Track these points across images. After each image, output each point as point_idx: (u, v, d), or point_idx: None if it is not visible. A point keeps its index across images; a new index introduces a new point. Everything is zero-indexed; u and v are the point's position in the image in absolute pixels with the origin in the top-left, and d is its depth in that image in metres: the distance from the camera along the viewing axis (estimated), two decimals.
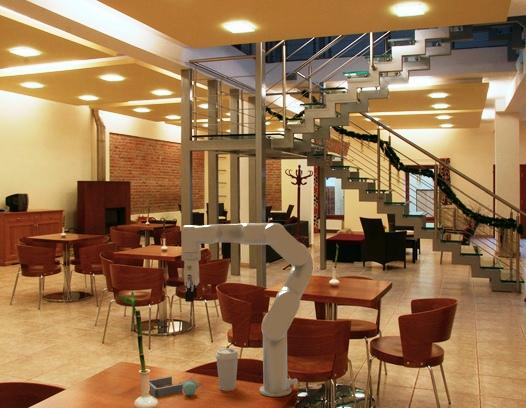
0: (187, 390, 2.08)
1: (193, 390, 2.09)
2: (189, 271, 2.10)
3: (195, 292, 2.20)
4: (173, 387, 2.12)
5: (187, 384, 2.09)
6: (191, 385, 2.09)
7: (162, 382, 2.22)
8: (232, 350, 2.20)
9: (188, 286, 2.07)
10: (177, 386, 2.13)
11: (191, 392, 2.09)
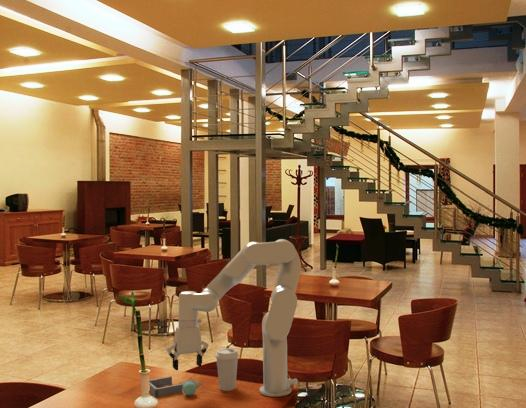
0: (187, 390, 2.08)
1: (193, 390, 2.09)
2: None
3: None
4: (173, 387, 2.12)
5: (187, 384, 2.09)
6: (191, 385, 2.09)
7: (162, 382, 2.22)
8: (232, 350, 2.20)
9: None
10: (177, 386, 2.13)
11: (191, 392, 2.09)
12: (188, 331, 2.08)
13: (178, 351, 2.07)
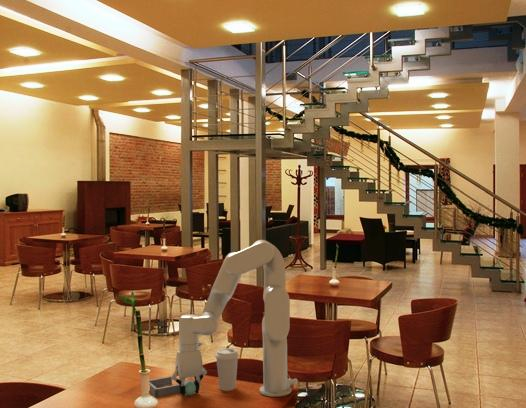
0: (187, 390, 2.08)
1: (193, 390, 2.09)
2: None
3: None
4: (173, 387, 2.12)
5: (187, 384, 2.09)
6: (191, 385, 2.09)
7: (162, 382, 2.22)
8: (232, 350, 2.20)
9: None
10: (177, 386, 2.13)
11: (191, 392, 2.09)
12: (189, 355, 2.08)
13: (180, 375, 2.07)
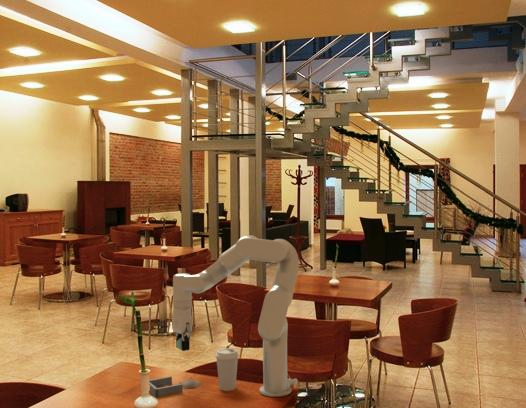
0: None
1: None
2: None
3: None
4: (173, 387, 2.12)
5: None
6: None
7: (162, 382, 2.22)
8: (232, 350, 2.20)
9: None
10: (177, 386, 2.13)
11: None
12: None
13: (191, 329, 2.18)
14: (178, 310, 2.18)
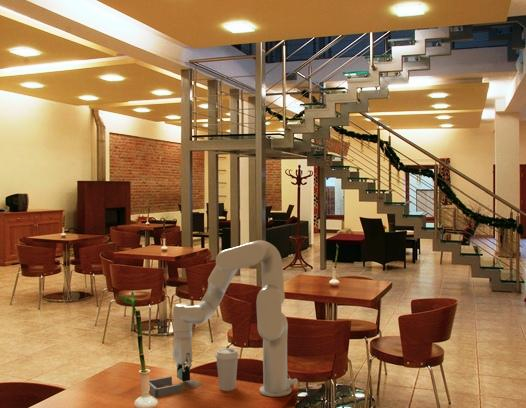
0: None
1: None
2: None
3: None
4: (173, 387, 2.12)
5: None
6: None
7: (162, 382, 2.22)
8: (232, 350, 2.20)
9: None
10: (177, 386, 2.13)
11: None
12: None
13: (191, 360, 2.18)
14: (178, 341, 2.18)
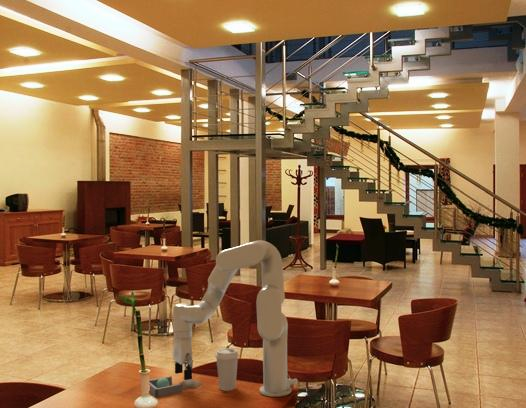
0: None
1: None
2: None
3: None
4: (173, 387, 2.12)
5: None
6: None
7: None
8: (232, 350, 2.20)
9: None
10: (177, 386, 2.13)
11: (157, 387, 2.15)
12: None
13: None
14: (178, 341, 2.18)
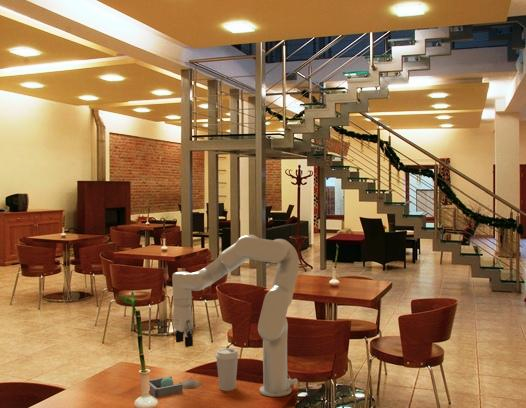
0: (164, 386, 2.15)
1: None
2: None
3: None
4: (173, 387, 2.12)
5: None
6: None
7: None
8: (232, 350, 2.20)
9: None
10: (177, 386, 2.13)
11: (161, 383, 2.16)
12: None
13: None
14: (178, 308, 2.18)
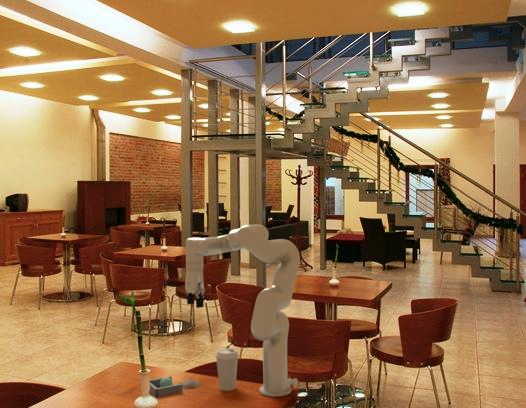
0: None
1: (160, 384, 2.16)
2: None
3: None
4: (173, 387, 2.12)
5: None
6: None
7: None
8: (232, 350, 2.20)
9: None
10: (177, 386, 2.13)
11: (160, 384, 2.15)
12: None
13: None
14: (191, 271, 2.32)
